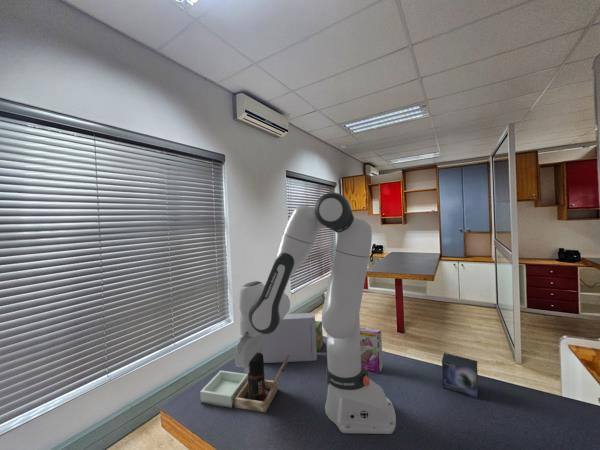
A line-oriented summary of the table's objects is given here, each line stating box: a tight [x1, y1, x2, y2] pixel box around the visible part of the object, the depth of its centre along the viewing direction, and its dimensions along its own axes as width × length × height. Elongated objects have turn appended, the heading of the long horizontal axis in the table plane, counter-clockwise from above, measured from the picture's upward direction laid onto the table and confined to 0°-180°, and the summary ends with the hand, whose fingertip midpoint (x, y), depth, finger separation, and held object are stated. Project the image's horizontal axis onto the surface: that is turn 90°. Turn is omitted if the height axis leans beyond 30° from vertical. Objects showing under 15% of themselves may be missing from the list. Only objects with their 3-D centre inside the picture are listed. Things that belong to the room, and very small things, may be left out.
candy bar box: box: [360, 325, 384, 374], centre depth 104 cm, size 11×5×16 cm, turn 58°
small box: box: [441, 352, 479, 400], centre depth 88 cm, size 11×6×10 cm, turn 53°
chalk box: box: [315, 320, 324, 352], centre depth 123 cm, size 9×9×15 cm
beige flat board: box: [265, 355, 289, 404], centre depth 87 cm, size 12×12×1 cm
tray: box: [199, 369, 248, 409], centre depth 93 cm, size 13×13×4 cm
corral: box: [234, 379, 279, 413], centre depth 89 cm, size 12×12×3 cm
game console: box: [262, 312, 318, 364], centre depth 113 cm, size 6×27×20 cm, turn 89°
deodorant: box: [248, 353, 266, 402], centre depth 89 cm, size 6×6×15 cm
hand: (253, 364), depth 89 cm, fingers open, 8 cm apart
